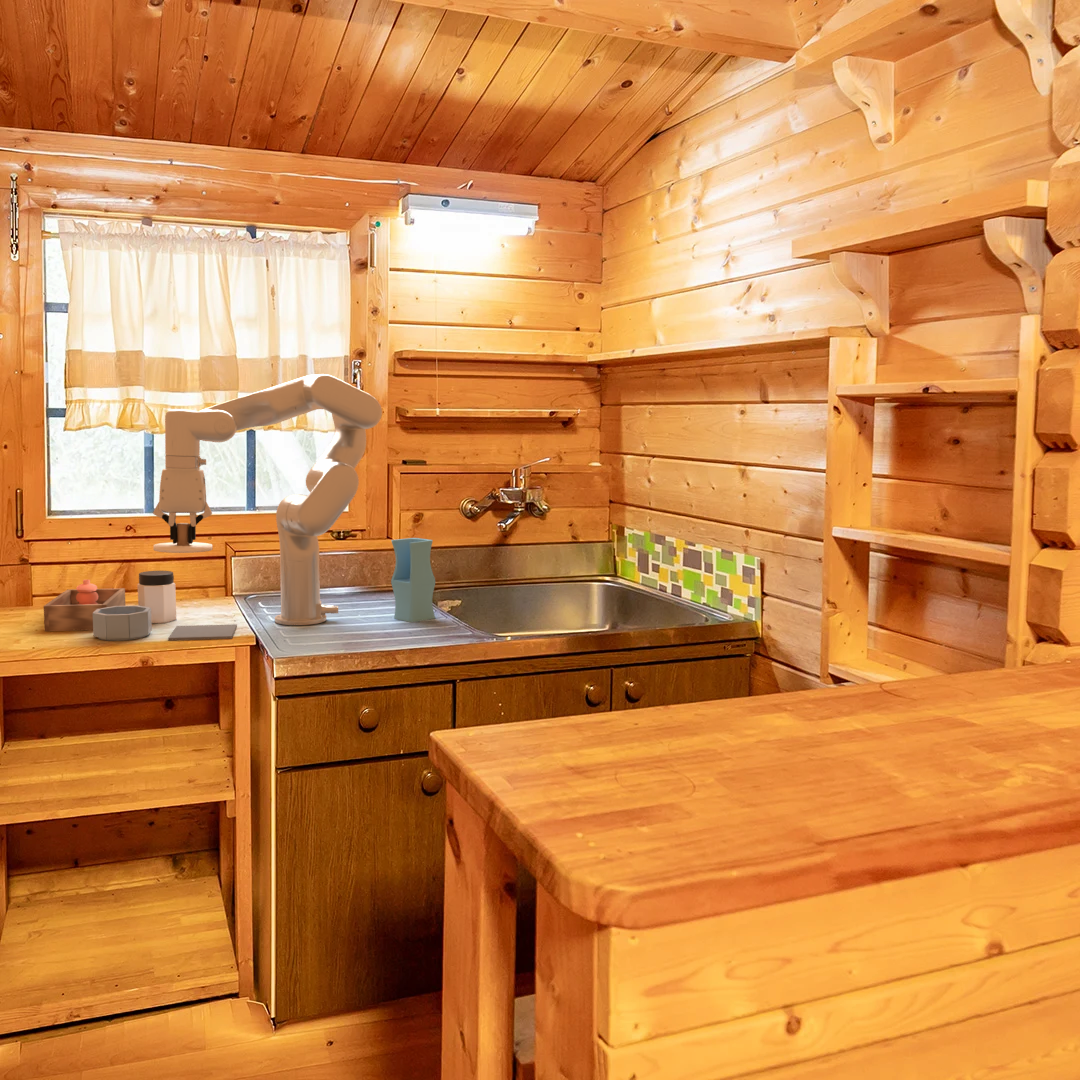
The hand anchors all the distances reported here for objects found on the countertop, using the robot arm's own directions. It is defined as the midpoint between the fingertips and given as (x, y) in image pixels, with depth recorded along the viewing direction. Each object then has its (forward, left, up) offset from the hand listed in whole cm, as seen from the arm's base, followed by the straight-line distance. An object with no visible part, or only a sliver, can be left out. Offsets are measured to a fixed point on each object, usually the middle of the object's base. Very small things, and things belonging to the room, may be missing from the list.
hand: (183, 542), depth 254 cm
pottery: (+26, -18, -22) cm, 39 cm away
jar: (+9, -18, -22) cm, 30 cm away
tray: (+26, -20, -22) cm, 39 cm away
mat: (-4, 0, -22) cm, 22 cm away
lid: (0, 0, -2) cm, 2 cm away
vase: (-54, -12, -22) cm, 60 cm away
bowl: (+14, 0, -22) cm, 26 cm away
